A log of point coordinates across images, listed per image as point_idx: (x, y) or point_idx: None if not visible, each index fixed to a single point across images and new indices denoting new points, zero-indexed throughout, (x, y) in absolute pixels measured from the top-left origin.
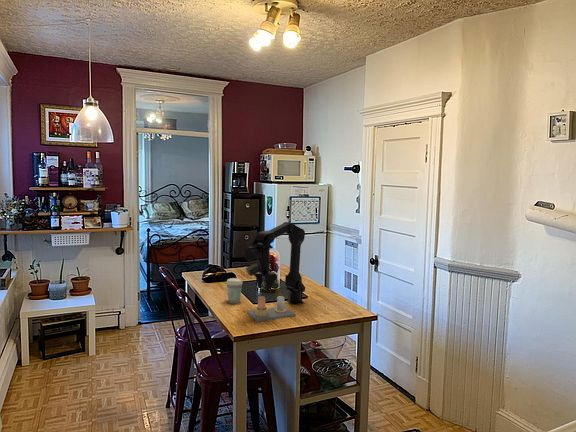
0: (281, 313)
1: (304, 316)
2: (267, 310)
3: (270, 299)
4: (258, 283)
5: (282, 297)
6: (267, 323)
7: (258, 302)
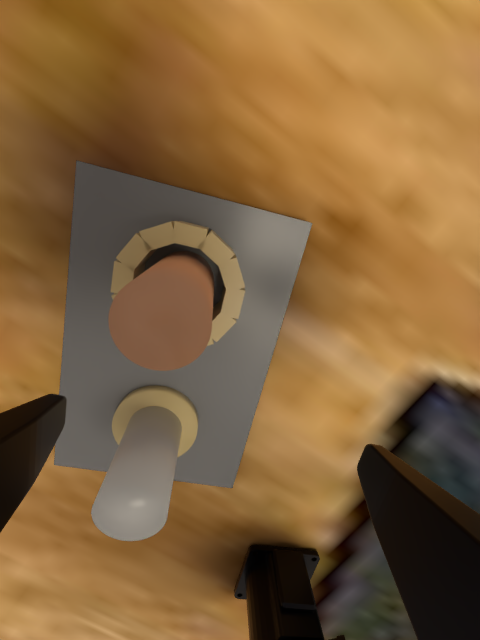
0: (109, 399)
1: None
2: None
3: None
4: (416, 500)
5: (111, 520)
6: (5, 209)
7: (172, 265)
